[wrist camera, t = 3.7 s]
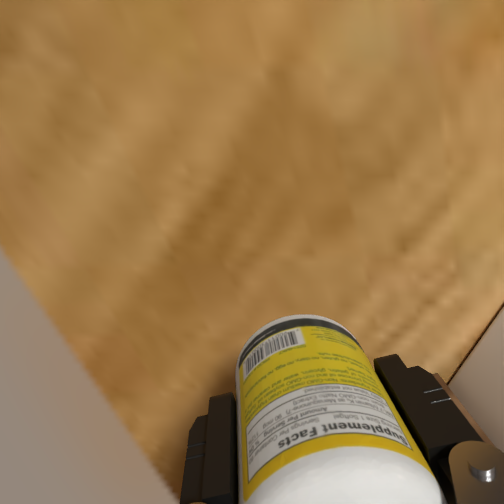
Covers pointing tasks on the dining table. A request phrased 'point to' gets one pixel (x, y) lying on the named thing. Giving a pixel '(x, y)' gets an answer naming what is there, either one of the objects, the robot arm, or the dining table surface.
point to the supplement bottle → (321, 423)
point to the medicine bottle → (485, 382)
